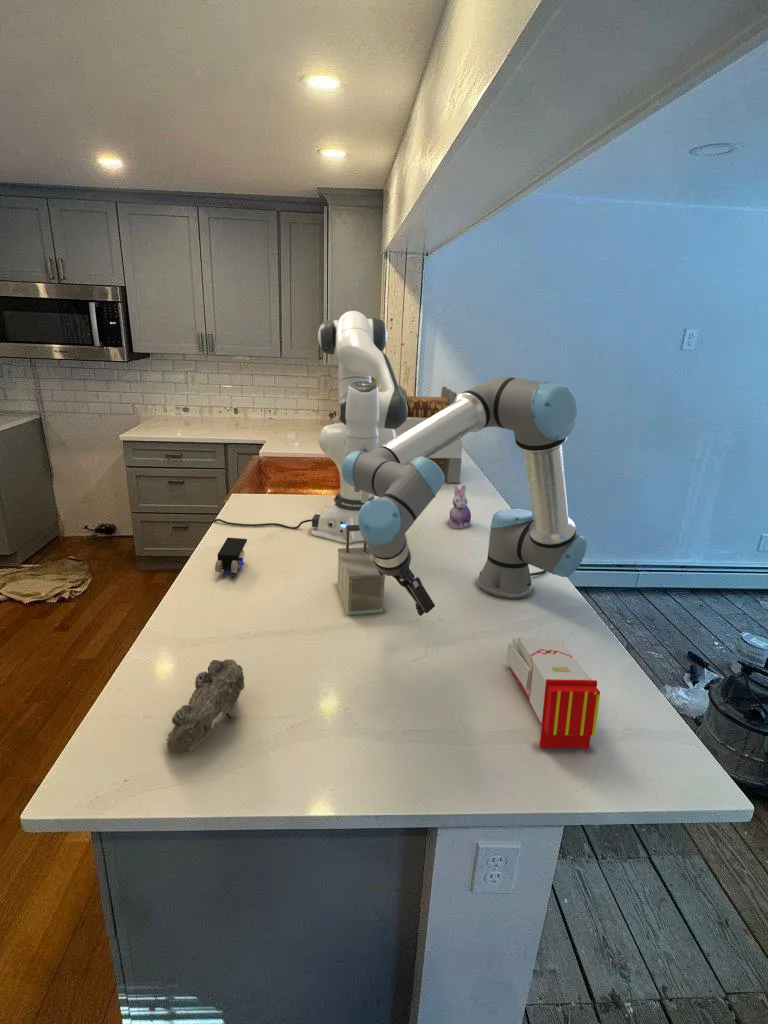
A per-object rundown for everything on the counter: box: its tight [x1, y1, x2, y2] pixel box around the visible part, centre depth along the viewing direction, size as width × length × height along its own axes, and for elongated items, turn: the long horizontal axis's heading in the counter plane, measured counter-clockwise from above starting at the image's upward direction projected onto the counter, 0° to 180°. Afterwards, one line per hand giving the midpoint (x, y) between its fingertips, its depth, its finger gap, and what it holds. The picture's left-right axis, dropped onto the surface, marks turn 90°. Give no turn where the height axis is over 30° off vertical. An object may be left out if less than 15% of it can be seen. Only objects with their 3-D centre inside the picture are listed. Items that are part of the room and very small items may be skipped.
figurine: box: [448, 484, 472, 529], centre depth 208 cm, size 9×10×15 cm
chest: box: [337, 552, 386, 616], centre depth 153 cm, size 17×9×10 cm, turn 13°
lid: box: [337, 525, 386, 580], centre depth 150 cm, size 18×9×9 cm, turn 13°
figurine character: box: [214, 537, 248, 578], centre depth 166 cm, size 7×8×15 cm
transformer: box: [394, 384, 464, 484], centre depth 268 cm, size 34×33×41 cm
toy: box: [505, 636, 601, 749], centre depth 115 cm, size 12×13×30 cm
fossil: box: [166, 658, 245, 754], centre depth 106 cm, size 22×10×15 cm
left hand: (360, 496), depth 152 cm, fingers open, 8 cm apart
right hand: (403, 590), depth 130 cm, fingers open, 13 cm apart
